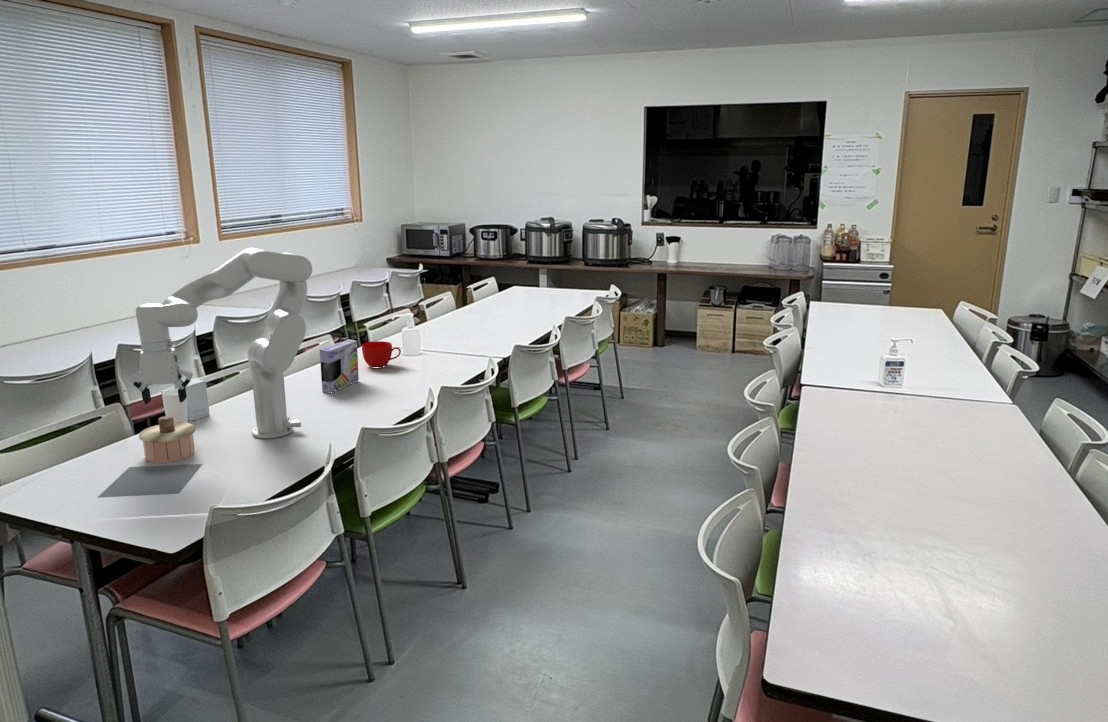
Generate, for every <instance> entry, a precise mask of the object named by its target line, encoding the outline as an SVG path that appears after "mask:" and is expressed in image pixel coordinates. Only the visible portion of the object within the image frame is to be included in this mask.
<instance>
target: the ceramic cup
mask: <svg viewBox="0 0 1108 722" xmlns="http://www.w3.org/2000/svg"><path fill="white" fill-rule="evenodd" d="M394 350H398V354H397V355H396V356H394V357H393V356H392V353H393V352H394ZM401 352H402V350H401V348H400V347H397V346H396V347H393V343H391V342H389V341H383V340H382V341H380V340H379V341H378V340H377V341H375V340H374V341H368V342H364V343H363V344H361V353H362V356H363V359H364V361H365V363H366V365H368V367H370V366H371V367H383V366H385V367H386V366H387V365H388V364H389V362H390V361H391V360H395V359H397V358H399V357H400V355H401ZM371 367H370V368H371Z"/></svg>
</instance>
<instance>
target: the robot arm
mask: <svg viewBox="0 0 1108 722" xmlns="http://www.w3.org/2000/svg"><path fill="white" fill-rule="evenodd" d="M312 273H313V265H312V262H311V261H310V260H309V258H307V257H305V256H304V255H300V254H296V253H292V252H285V251H284V252H276V251H270V250H266V249H262V248H256V247H248V248H245V249H243V250H242V251H240V252H238V253H237V254H235V256H233V257H231V258H230V259H229V260H227V261H226V262H224V263H223V264H222V265H219V266H218V267H217V268H216V269H214V270H213V271H211V272H209V273H207V274H205V275H203V276H201V277H199V278H197V279H196V280H194V281H191V282H190V283H188V284H186V285H184V286H182V287H181V288H179V289H177V290H176V291H175V292H174V293H172V294H170V295H169V296H167V298H166V299H165V300H163V302H162V303H159V302H150V303H149V302H148V303H143V304H140V305H138V306H137V307H136V308H135V315H136V323H137V326H138V333H139V339H140V345H141V351H140V352H139V370H138V371H137V372H135V373H133V374H131V375H130V376H129V377H128V379H129V381H130V382H131V383H132V384H133V386H134V387H135V388H137V389H138V391H139V392H141V396H142V399H141V400H142V401H143V402H144V404H145V405H148V404H149V403H151V401H152V397H151V392H150V390H151V389H150V388H149V386H155V385H174V384H175V385H176V386H177V387H178V388H179V389H178V395H179V402H183V401H184V400H185V399H186V397H187V395H186V389H185V387H186V386H187V385H188V383H189V382H190V381H191V378H192V379H193V376H194V373H193V372H191V371H189V370H186V369H184V368H182V366H181V364H180V363H181V362H180V360H179V356H178V352H177V351H176V349H175V348H174V347H176V346H177V343H176V341H172V338H171V336H170V335H171V334H170V330H169V328H186V327H189V326H191V325H193V324H194V323H196V321H197V319H198V316H199V313H198V309H197V308H199V307H201V306H202V305H203V304H206V303H208V302H211V301H212V300H213V301H214V300H217V299H223V298H227V297H229V296H231V295H233V294H234V293H235V292H237V291H239V290H240V289H241V288H242V287H244V286H245V285H247V284H248V283H249V282H251V281H252V280H254V279H255V278H256V277H257V278H260V279H266V280H272V281H279V289H278V293H277V296H276V298H275V300H274V302H273V304H272V306H271V308H270V310H269V312H268V315H267V317H266V318H265V321H264V325H265V329H266V331H267V332H268V333H269V334H271V336H270V338H267V337H261V338H256V339H255V340H253V341H252V343H250V344H249V347H248V348H247V349H248V350H247V360H248V364H249V365H248V366H249V368H250V374H251V380H252V381H251V382H252V391H253V402H254V412H255V420H256V421H255V422H256V427H254V428H253V429H252V430H251V432H252V433H251V434H252V436H253V437H255V438H258V439H275V438H280V437H285V436H287V435H289V434H291V433H292V432H293V431H294V428H301V427H302V422H301V420H300V421H299V419H294V420H292V419H290V415H288V414H287V400H286V390H285V387H286V386H285V378H284V377H285V376H284V373H285V372H286V371H287V370H288V369H289V368H290V366H291V365H292V363H293V362H294V360H295V358H296V355H297V353H298V352H299V349H300V347H301V344H302V343H303V341H304V338H305V335H306V332H307V323H306V321H305V319H304V317H303V316H302V315H301V312H302V310H303V307H304V305H305V302H306V299H307V295H308V284H307V280H308V279H309V278H310V277H311V276H312ZM183 376H184V377H185V381H184V380H183V379H182V378H183ZM139 377H140V379H141V380H140V381H139V380H138V378H139Z"/></svg>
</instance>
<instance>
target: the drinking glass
mask: <svg viewBox="0 0 1108 722" xmlns="http://www.w3.org/2000/svg"><path fill="white" fill-rule="evenodd" d="M161 394H162V403H163V408H164V413H165V416H172V417H173V419H174V423H178V422H180V423H189V421H188V411H187V397H186V399H185V400H184V401H183V402H179V395H178V389H175V388H172V389H167V390H165V391H163V392H162V393H161Z"/></svg>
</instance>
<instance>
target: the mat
mask: <svg viewBox="0 0 1108 722" xmlns="http://www.w3.org/2000/svg"><path fill="white" fill-rule="evenodd" d="M202 466H203V463H195V464H194V463H192V464H191V463H190V464H171V465H170V464H168V465H167V464H165V465H147V466H129V467H128V468H127V469H126V470H125V471H124V472H123V473H121V475H119V476H118V477H117V478H116V479H115V480H114V481H113V482H111V483H110V484H109V486H108V487H107V488H106V489H105V490H103V491H102V492H101V493H100V494H99V495H98V496H97V498H114V497H115V498H116V497H118V498H119V497H136V496H137V497H138V496H153V495H154V496H156V495H159V496H160V495H175V494H176V495H177V494H180V493H181V491H182V490H183V489H184V488H185V487H186V485H187V484H188V483H189V482H190V481H191V479H192V478H193V477H194V476H195V474H196V473H197V472H198V471H199V470H200V468H201V467H202Z"/></svg>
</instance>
